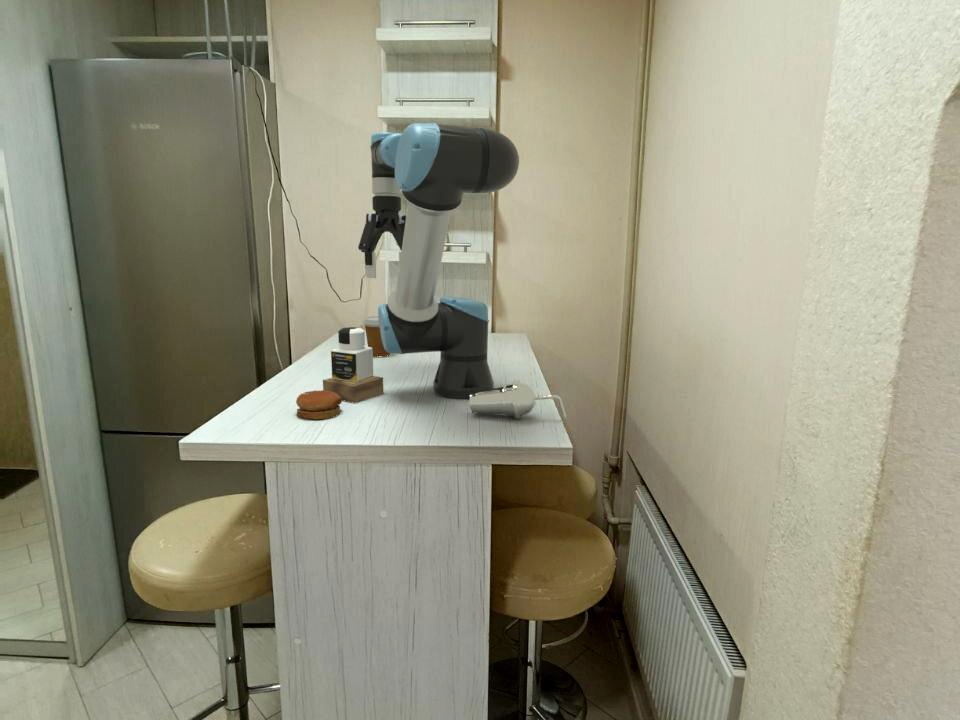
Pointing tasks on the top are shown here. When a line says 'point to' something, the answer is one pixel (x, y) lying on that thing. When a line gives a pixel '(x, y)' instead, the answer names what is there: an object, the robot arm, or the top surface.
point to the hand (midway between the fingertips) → (388, 276)
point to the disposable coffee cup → (374, 336)
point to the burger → (318, 404)
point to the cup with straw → (508, 400)
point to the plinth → (355, 388)
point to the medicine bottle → (352, 356)
